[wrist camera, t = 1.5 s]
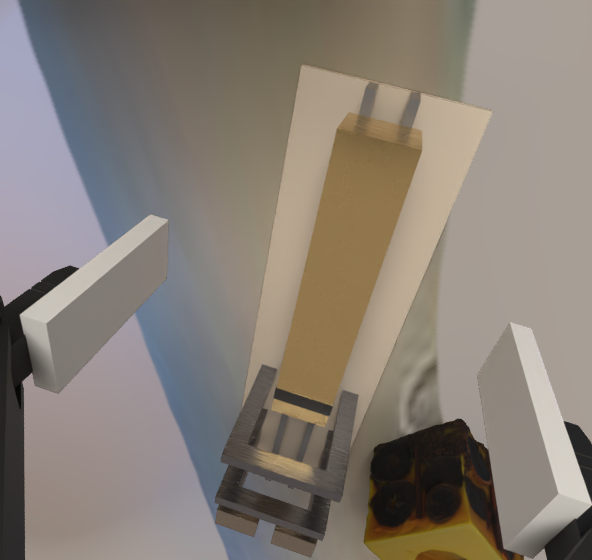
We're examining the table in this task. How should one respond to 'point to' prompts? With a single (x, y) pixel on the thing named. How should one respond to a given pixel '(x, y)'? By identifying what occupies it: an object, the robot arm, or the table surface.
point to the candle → (434, 498)
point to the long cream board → (402, 249)
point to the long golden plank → (344, 259)
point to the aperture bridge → (281, 534)
